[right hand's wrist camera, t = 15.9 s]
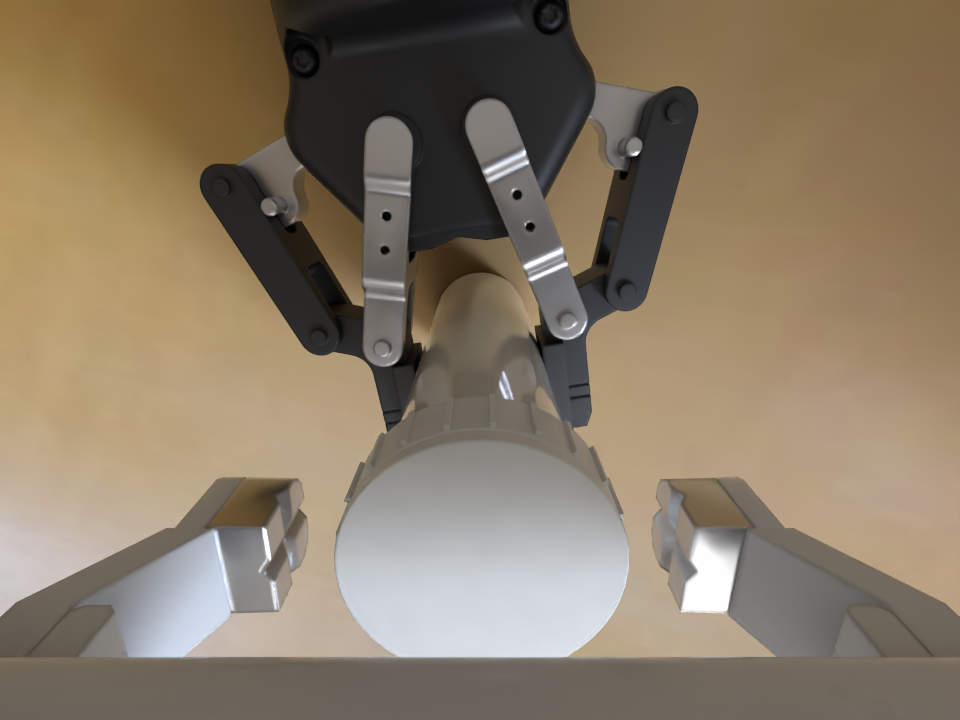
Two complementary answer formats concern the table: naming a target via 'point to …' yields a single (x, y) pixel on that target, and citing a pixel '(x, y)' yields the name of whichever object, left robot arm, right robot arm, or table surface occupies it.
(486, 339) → the bottle
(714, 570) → the right robot arm
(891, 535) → the table surface
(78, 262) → the table surface
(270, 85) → the table surface
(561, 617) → the lid
